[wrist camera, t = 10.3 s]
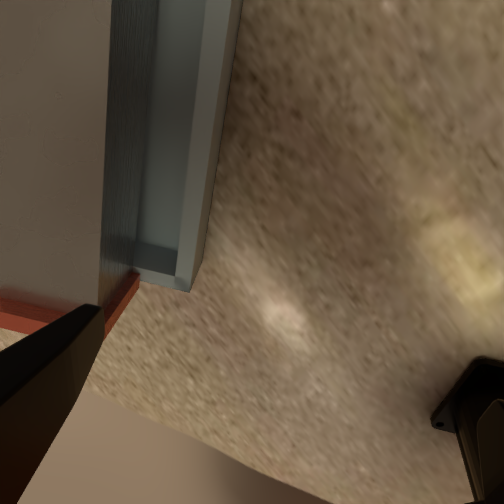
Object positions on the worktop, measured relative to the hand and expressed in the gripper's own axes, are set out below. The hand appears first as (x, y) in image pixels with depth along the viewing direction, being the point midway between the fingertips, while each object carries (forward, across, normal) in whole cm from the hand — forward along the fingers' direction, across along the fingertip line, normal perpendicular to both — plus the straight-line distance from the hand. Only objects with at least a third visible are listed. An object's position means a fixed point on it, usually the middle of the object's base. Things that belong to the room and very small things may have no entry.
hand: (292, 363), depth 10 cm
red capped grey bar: (+10, +9, -1) cm, 13 cm away
